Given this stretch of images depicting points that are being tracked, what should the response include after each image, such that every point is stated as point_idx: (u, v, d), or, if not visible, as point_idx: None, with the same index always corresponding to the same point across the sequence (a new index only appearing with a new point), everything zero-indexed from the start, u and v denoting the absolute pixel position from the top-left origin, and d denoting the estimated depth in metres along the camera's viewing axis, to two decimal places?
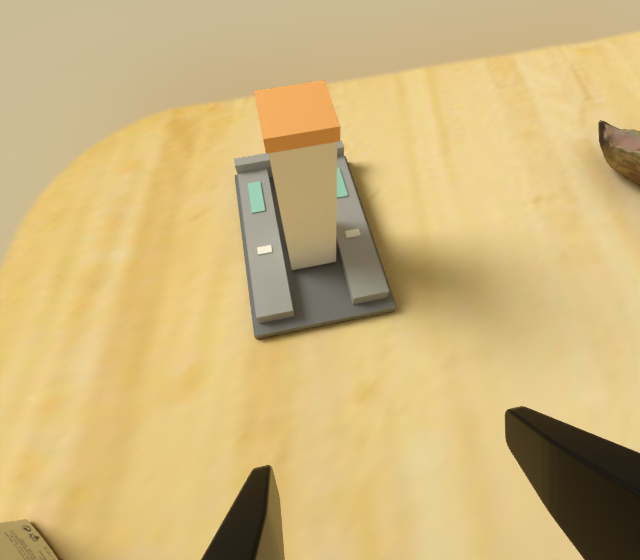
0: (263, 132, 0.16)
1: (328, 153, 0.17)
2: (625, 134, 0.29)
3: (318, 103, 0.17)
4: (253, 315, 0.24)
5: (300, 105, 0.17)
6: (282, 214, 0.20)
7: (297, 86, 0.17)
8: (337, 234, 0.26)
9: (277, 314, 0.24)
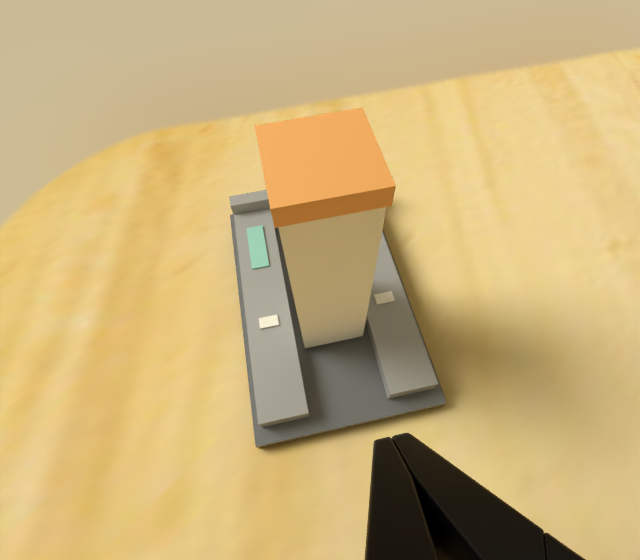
0: (270, 196, 0.10)
1: (370, 221, 0.11)
2: None
3: (356, 145, 0.11)
4: (254, 414, 0.18)
5: (328, 149, 0.11)
6: (295, 295, 0.14)
7: (321, 117, 0.11)
8: None
9: (287, 418, 0.17)
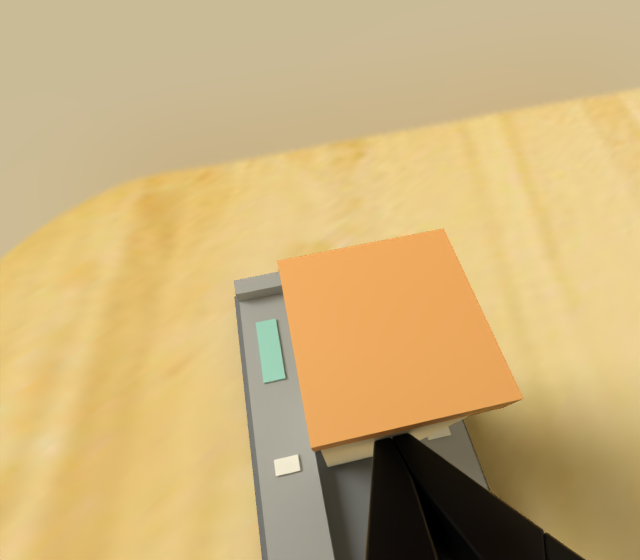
0: (309, 418, 0.06)
1: None
2: None
3: (444, 306, 0.07)
4: None
5: (398, 313, 0.06)
6: (327, 458, 0.10)
7: (381, 247, 0.07)
8: None
9: None
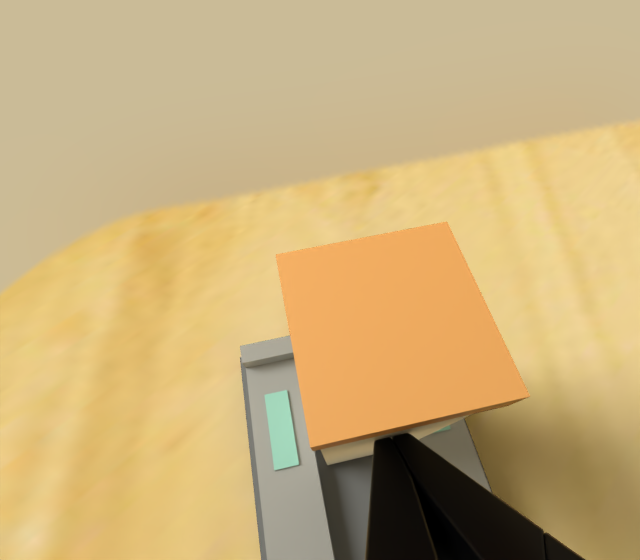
0: (309, 417, 0.05)
1: None
2: None
3: (448, 301, 0.06)
4: None
5: (400, 308, 0.06)
6: (327, 456, 0.10)
7: (383, 240, 0.07)
8: None
9: None
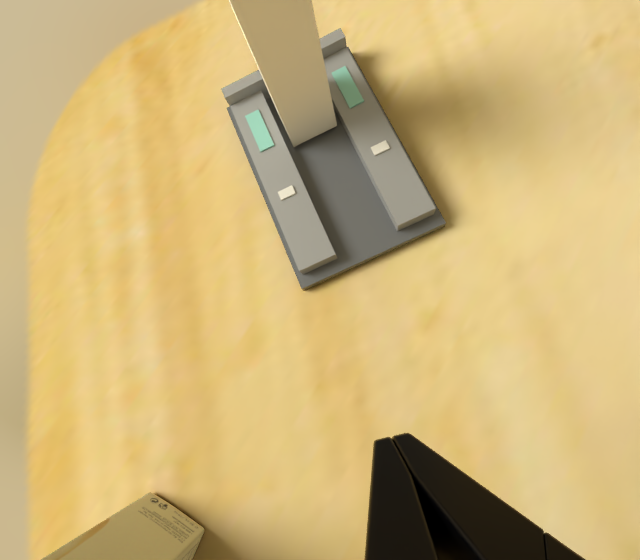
0: None
1: None
2: None
3: None
4: (294, 267, 0.23)
5: None
6: (266, 79, 0.18)
7: None
8: (362, 153, 0.23)
9: (320, 261, 0.22)
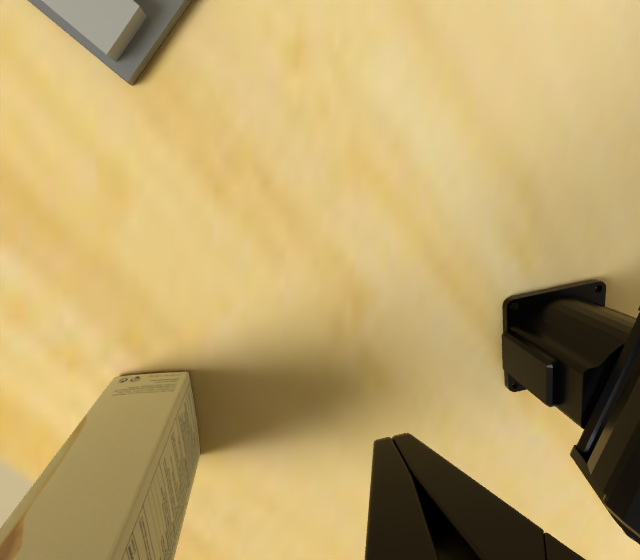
0: None
1: None
2: None
3: None
4: (99, 56, 0.16)
5: None
6: None
7: None
8: None
9: (126, 28, 0.15)
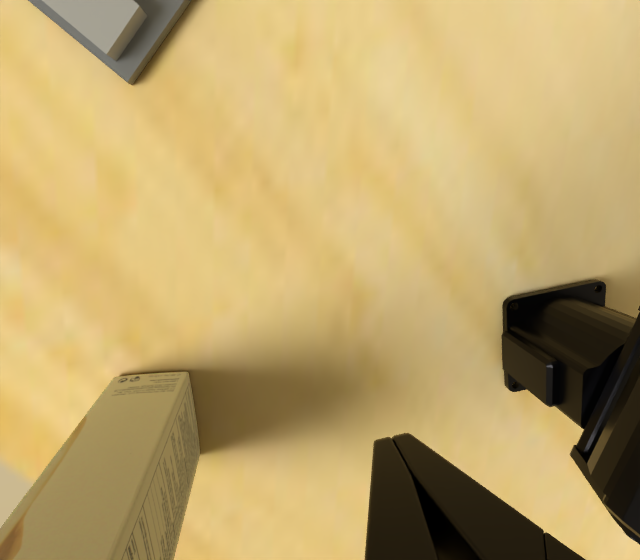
0: None
1: None
2: None
3: None
4: (98, 55, 0.16)
5: None
6: None
7: None
8: None
9: (126, 27, 0.15)
